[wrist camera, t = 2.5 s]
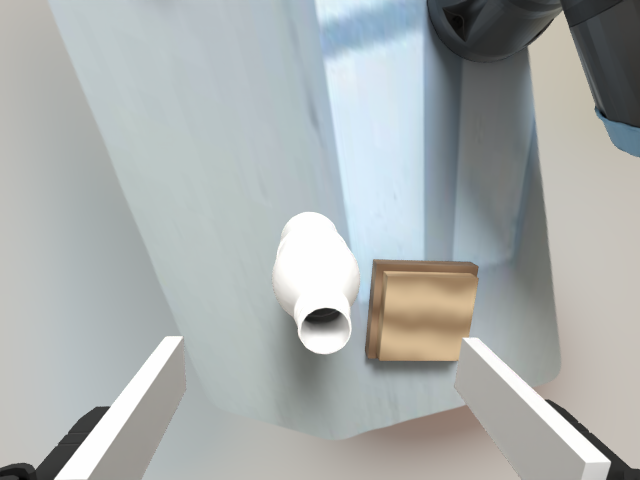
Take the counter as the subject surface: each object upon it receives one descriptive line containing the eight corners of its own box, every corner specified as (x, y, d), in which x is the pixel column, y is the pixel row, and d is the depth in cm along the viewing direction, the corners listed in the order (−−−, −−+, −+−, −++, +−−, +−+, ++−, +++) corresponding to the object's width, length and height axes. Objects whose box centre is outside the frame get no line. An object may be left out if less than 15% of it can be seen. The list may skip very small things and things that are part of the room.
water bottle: (323, 200, 41) (362, 247, 16) (343, 249, 42) (405, 358, 18) (273, 222, 41) (237, 300, 16) (295, 269, 42) (292, 404, 18)
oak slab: (383, 271, 41) (387, 276, 39) (470, 273, 42) (478, 278, 40) (375, 352, 44) (379, 360, 42) (457, 352, 45) (464, 360, 43)
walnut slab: (373, 259, 43) (376, 263, 41) (470, 262, 44) (478, 266, 42) (365, 350, 46) (368, 358, 44) (456, 350, 47) (463, 358, 45)
